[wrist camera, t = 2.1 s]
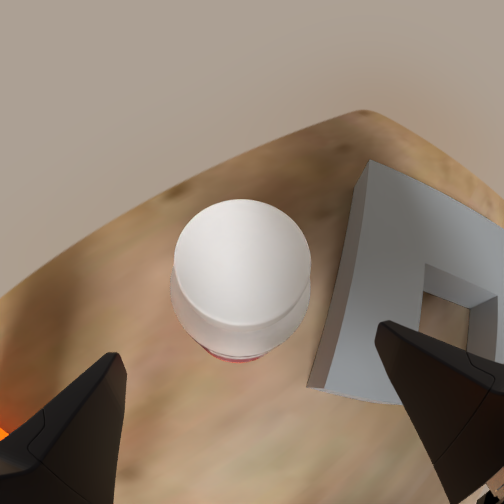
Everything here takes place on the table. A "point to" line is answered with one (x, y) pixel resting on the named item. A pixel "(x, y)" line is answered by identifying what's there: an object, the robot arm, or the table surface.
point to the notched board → (406, 279)
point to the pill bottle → (241, 279)
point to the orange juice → (3, 434)
